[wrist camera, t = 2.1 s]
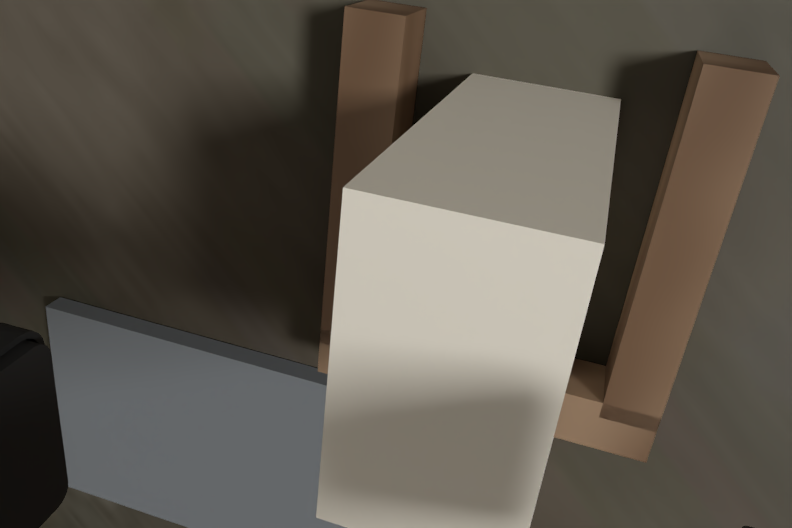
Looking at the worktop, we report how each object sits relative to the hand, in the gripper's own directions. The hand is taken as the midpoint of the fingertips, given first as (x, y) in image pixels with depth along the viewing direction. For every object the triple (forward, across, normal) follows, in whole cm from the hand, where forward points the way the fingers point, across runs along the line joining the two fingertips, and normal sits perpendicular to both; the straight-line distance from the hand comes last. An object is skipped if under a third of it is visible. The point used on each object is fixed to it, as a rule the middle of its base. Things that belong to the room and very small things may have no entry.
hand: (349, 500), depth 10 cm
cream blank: (+13, -1, 0) cm, 13 cm away
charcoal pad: (+13, +9, +12) cm, 20 cm away
